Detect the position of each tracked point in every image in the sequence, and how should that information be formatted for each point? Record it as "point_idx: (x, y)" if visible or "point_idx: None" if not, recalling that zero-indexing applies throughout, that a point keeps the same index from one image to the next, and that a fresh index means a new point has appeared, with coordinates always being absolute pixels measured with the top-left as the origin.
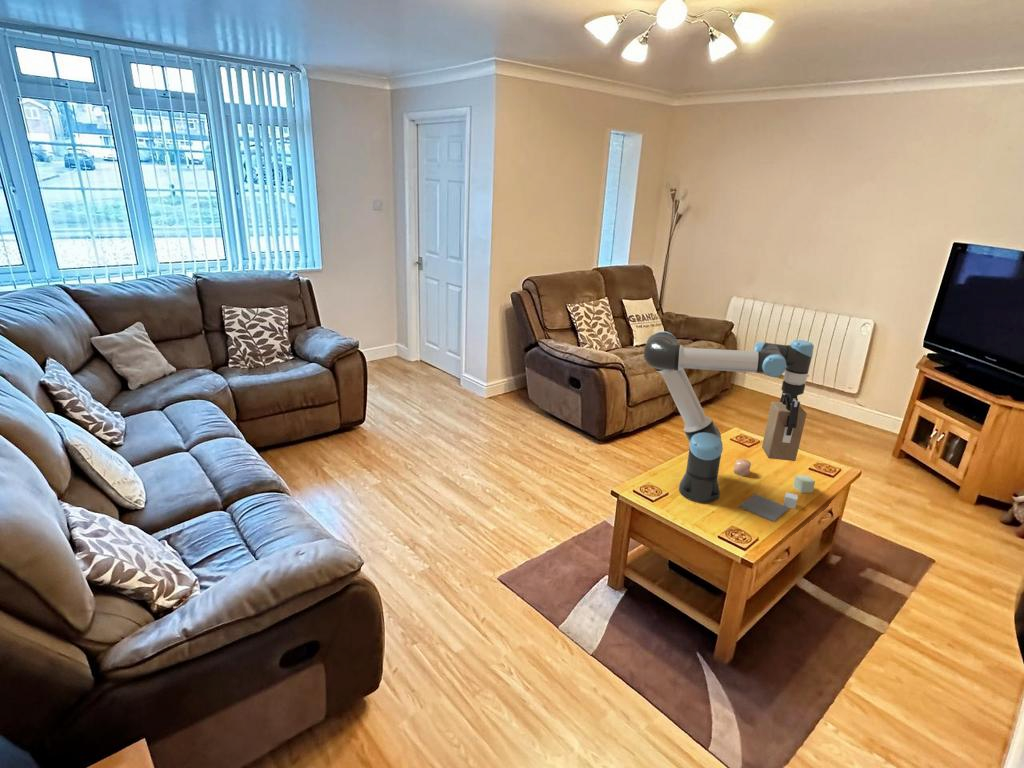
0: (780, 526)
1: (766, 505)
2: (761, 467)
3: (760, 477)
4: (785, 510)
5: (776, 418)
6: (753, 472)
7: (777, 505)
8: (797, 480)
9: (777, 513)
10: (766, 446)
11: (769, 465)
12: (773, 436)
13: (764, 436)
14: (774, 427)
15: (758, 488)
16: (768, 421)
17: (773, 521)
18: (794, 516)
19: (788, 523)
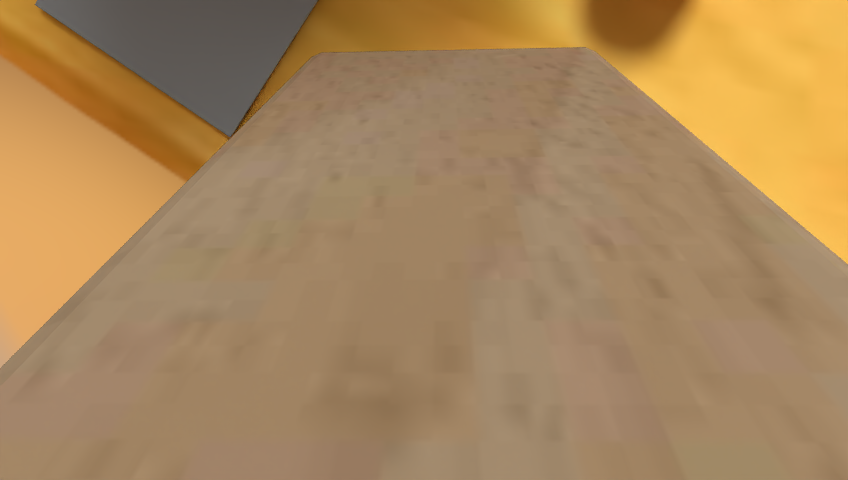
0: (12, 34)
1: (206, 2)
2: (755, 100)
3: (606, 58)
4: (190, 107)
5: (47, 343)
6: (678, 25)
7: (232, 74)
8: None
9: (133, 49)
10: (440, 66)
11: (783, 161)
12: (227, 141)
13: (606, 79)
14: (178, 199)
15: (446, 6)
16: (653, 175)
17: (38, 3)
18: (163, 143)
19: (69, 90)
